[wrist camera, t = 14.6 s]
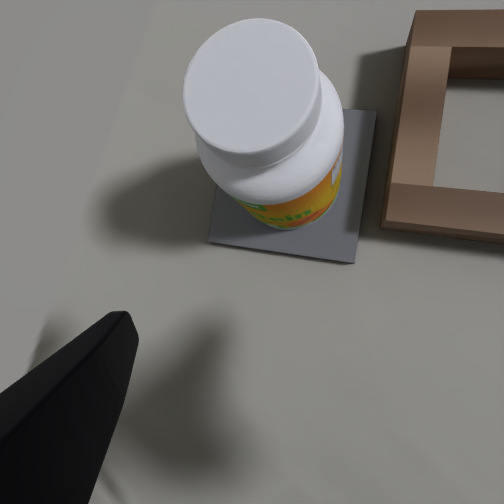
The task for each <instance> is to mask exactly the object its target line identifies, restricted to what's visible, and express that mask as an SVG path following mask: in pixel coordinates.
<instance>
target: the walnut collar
mask: <svg viewBox="0 0 504 504" xmlns="http://www.w3.org/2000/svg"><path fill="white" fill-rule="evenodd" d="M447 78H478V79H504V9H503V10H416V12H415V15H414V19H413V22H412V26H411V29H410V33H409V36H408V39H407V43H406V48H405V55H404V62H403V68H402V75H401V82H400V89H399V96H398V103H397V110H396V117H395V124H394V130H393V137H392V144H391V151H390V158H389V165H388V172H387V179H386V186H385V193H384V199H383V206H382V213H381V220H380V227H379V229H387V230H395V231H403V232H411V233H419V234H427V235H435V236H443V237H451V238H459V239H467V240H475V241H484V242H492V243H500V244H504V193H497V192H486V191H475V190H465V189H454V188H444V187H433V180H434V172H435V165H436V158H437V151H438V143H439V136H440V129H441V122H442V114H443V107H444V100H445V93H446V85H447Z"/></svg>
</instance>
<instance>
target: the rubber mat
mask: <svg viewBox="0 0 504 504" xmlns="http://www.w3.org/2000/svg"><path fill="white" fill-rule="evenodd" d="M342 110H343V119H344V138H343V154H342V172H341V182H340V187H339V191H338V194H337V197H336V199H335V201H334V203H333V205H332V206H331V208H330V209H329V210H328V211H327V212H326V214H325V215H323V216H322V217H321V218H320V219H318V220H317V221H315V222H314V223H312V224H310V225H308V226H305V227H302V228H297V229H278V228H274V227H271V226H268V225H266V224H264V223H262V222H261V221H259V220H258V219H256V218H255V217H254V216H253V215H252V214H250V213H249V212H248V211H247V210H246V209H245V208H244V207H243V206H241V205H240V204H239V203H238V202H237V201H236V200H235V199H233V198H232V197H231V196H230V195H228V194H227V193H226V192H225V191H224V190H223V189H221V188H220V187H219V186H218V185H217V188H216V194H215V200H214V206H213V212H212V218H211V223H210V229H209V235H208V242H211V243H218V244H225V245H231V246H238V247H245V248H252V249H258V250H265V251H272V252H279V253H285V254H292V255H299V256H306V257H312V258H319V259H326V260H333V261H339V262H346V263H353V264H354V263H355V256H356V249H357V242H358V236H359V229H360V222H361V215H362V209H363V202H364V195H365V188H366V182H367V175H368V168H369V161H370V155H371V148H372V141H373V134H374V128H375V121H376V114H377V111H370V110H351V109H342Z"/></svg>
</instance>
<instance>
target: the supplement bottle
mask: <svg viewBox="0 0 504 504" xmlns="http://www.w3.org/2000/svg"><path fill="white" fill-rule="evenodd" d="M182 97H183V106H184V111H185V114H186V117H187V120H188V122H189V124H190V126H191V127H192V129H193V131H194V132H195V136H196V145H197V150H198V153H199V157H200V160H201V162H202V164H203V166H204V168H205V170H206V171H207V173H208V174H209V176H210V177H211V178H212V179H213V181H214V182H215V183H216V184H217V185H218V186H219V187H220V188H221V189H223V190H224V191H225V192H226V193H227V194H228V195H230V196H231V197H232V198H233V199H235V200H236V201H237V202H238V203H239V204H240V205H241V206H243V207H244V208H245V209H246V210H247V211H248V212H249V213H250V214H252V215H253V216H254V217H255V218H256V219H258V220H259V221H261V222H262V223H264V224H266V225H268V226H271V227H274V228H278V229H297V228H302V227H305V226H308V225H310V224H312V223H314V222H315V221H317V220H318V219H320V218H321V217H322V216H323V215H325V214H326V212H327V211H328V210H329V209H330V208H331V206H332V205H333V203H334V201H335V199H336V197H337V194H338V191H339V187H340V182H341V172H342V154H343V138H344V119H343V110H342V107H341V103H340V100H339V97H338V94H337V92H336V90H335V88H334V86H333V85H332V83H331V82H330V80H329V79H328V78H327V77H326V75H325V74H324V73H323V72H322V71H320V70H319V69H318V64H317V60H316V57H315V55H314V53H313V51H312V49H311V47H310V45H309V44H308V42H307V41H306V40H305V39H304V38H303V36H302V35H301V34H300V33H298V32H297V31H296V30H295V29H293V28H292V27H290V26H288V25H286V24H284V23H281V22H279V21H275V20H271V19H263V18H257V19H246V20H242V21H238V22H235V23H232V24H230V25H228V26H226V27H224V28H222V29H221V30H219V31H217V32H216V33H215V34H213V35H212V36H211V37H210V38H208V39H207V40H206V41H205V42H204V43H203V44H202V45H201V47H200V48H199V49H198V50H197V52H196V53H195V55H194V57H193V58H192V60H191V62H190V64H189V66H188V69H187V71H186V74H185V78H184V82H183V91H182Z"/></svg>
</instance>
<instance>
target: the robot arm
mask: <svg viewBox="0 0 504 504" xmlns="http://www.w3.org/2000/svg"><path fill="white" fill-rule="evenodd" d="M138 343H139V337H138V333H137V330H136V328H135V325H134V323H133V321H132V318H131V316H130V314H129V313H128V312H127V311H113V312H110V313H108V314H107V315H105V316H104V317H103V318H101V319H100V320H99V321H97V322H96V323H95V324H93V325H92V326H91V327H89V328H88V329H87V330H85V331H84V332H83V333H81V334H80V335H78V336H77V337H76V338H74V339H73V340H72V341H70V342H69V343H68V344H66V345H65V346H64V347H62V348H61V349H60V350H58V351H57V352H56V353H54V354H53V355H51V356H50V357H49V358H47V359H46V360H45V361H43V362H42V363H41V364H39V365H38V366H37V367H35V368H34V369H33V370H31V371H30V372H28V373H27V374H26V375H24V376H23V377H22V378H20V379H19V380H18V381H17V382H15V383H14V384H12V385H11V386H10V387H8V388H7V389H6V390H4V391H3V392H2V393H0V504H88V503H89V500H90V497H91V494H92V492H93V489H94V486H95V483H96V480H97V478H98V475H99V472H100V469H101V466H102V463H103V461H104V458H105V455H106V452H107V449H108V447H109V444H110V441H111V438H112V435H113V432H114V430H115V427H116V424H117V421H118V418H119V416H120V413H121V410H122V407H123V404H124V401H125V397H126V393H127V389H128V385H129V381H130V377H131V373H132V368H133V364H134V360H135V356H136V352H137V348H138Z"/></svg>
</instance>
